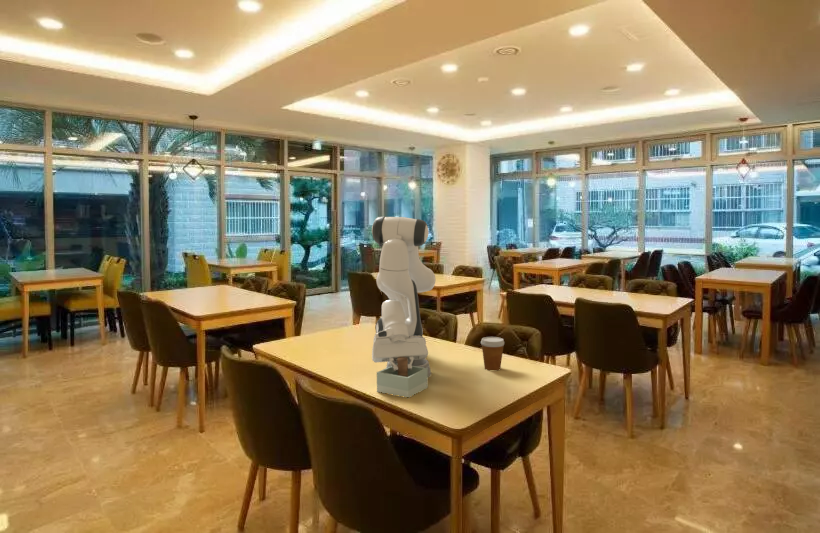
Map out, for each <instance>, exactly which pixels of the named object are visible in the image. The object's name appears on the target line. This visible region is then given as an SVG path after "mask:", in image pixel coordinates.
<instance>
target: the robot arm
mask: <svg viewBox="0 0 820 533" xmlns="http://www.w3.org/2000/svg"><path fill="white" fill-rule="evenodd" d="M371 234H372V238H373V240H374V241H375V243H376V244H378V246H379V248H381V252H380V257H379V265H378V266H379V268H378V273H377V276H376V282H375V283H376V286H377V288H378V289H379V290H380V292H383V293H384V294H385V295H386V296H387V298H388V299H387V300H385V301H383V302H382V304H381V317H379V319H378V320H377V321H376V322H375V334H374V337H373V344H372V347H371V348H372V350H371V359H372V362H373V363H386V362H389V364H390V365H391V366H392V368H393V371H394V372H396V371H398V365H395V364H394V363H393V361H397V358H399V357H407V358H408V360H409V362H410V364H408V371H409V370H412V363H413V360H418V359H426V360H427V357H428V354H429V350H428V347H427V345H426V344H427V341H426V338H425V337H424V336H423V334H424V332H423V325H422V320H421V312H420V304H419V296H418V293H425V292H428V291H429V292H430V291H432V290H433V288H434V287H435V284H436V275H435V273H434V271H433V270H432V269H431V268H429V267H427V266H426V265H425V264H424V263H423V262H422V261H421V259H420V255H419V252H420V251H419V247H420V246H423V245H424V244H426V242H427V240H428V237H429V227H428V223H427V222H426V221H425V220H423V219H420V218H417V219H416V218H411V217H404V216H384V215H383V216H377V217H376V218H375V219H374V220H373V223H372V226H371Z"/></svg>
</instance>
